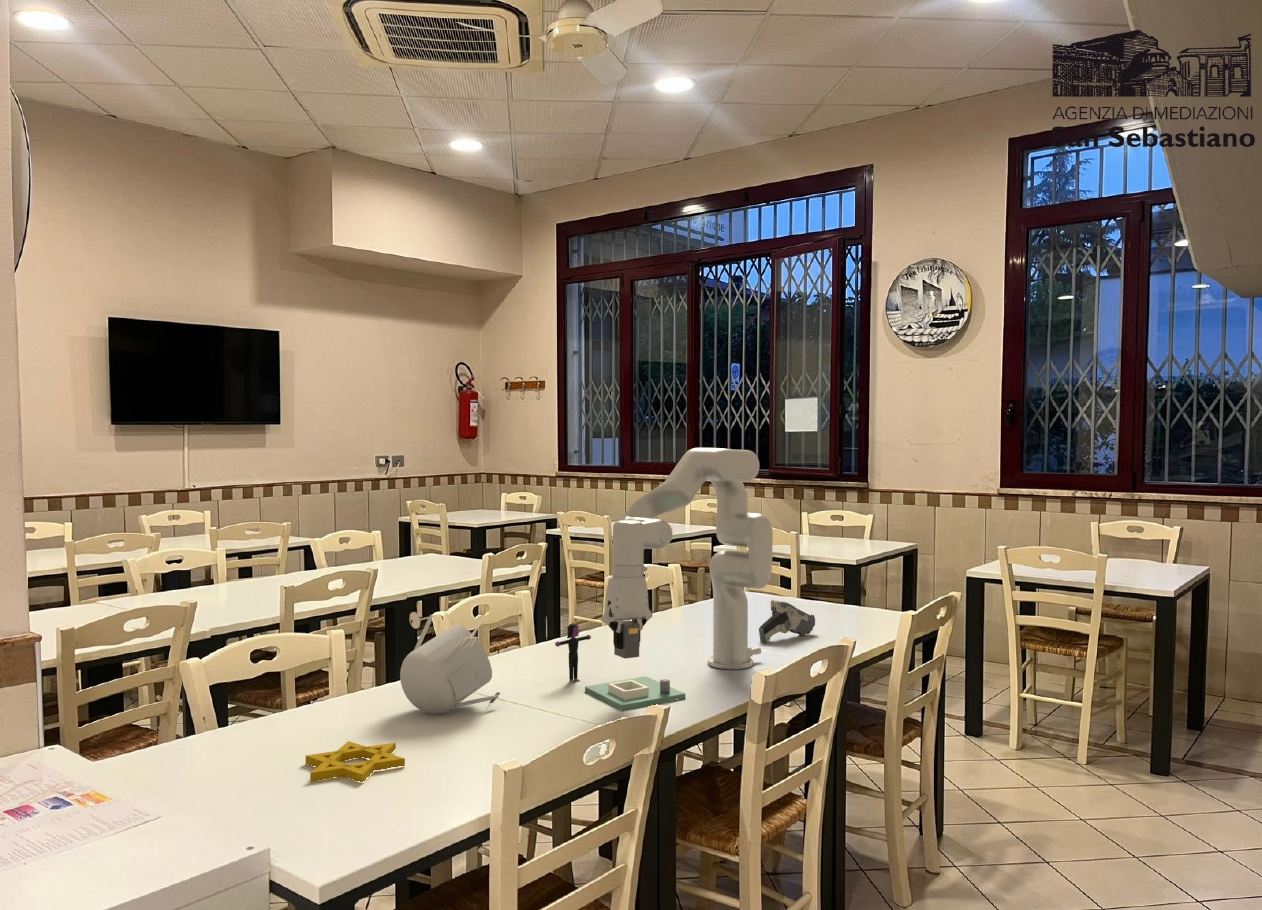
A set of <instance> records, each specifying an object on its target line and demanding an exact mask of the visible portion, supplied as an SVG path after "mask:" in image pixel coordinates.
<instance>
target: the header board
mask: <svg viewBox="0 0 1262 910" xmlns="http://www.w3.org/2000/svg"><path fill="white" fill-rule="evenodd" d="M584 692H585V693H588V694H589V695H591V696H593V697H595V698H597V699H599V700H601V701H603V702H605V703H607V704H609V705H610V706H613V707H614V708H616V709H619V710H620V711H625V710H630V709H636V708H640V707H641V708H642V707H646V706H652V705H651V704H653V705H657V704H663V703H667V702H668V701H669V702H672V701H671V700H674V701H677V700H676V699H679V700H685V699H686V693H685V692H683V691H682V690H679V689H676V688H674V687H672V686H671V680H670V679H666V678H664V679H660V681H657V680H655V679H653V678H651V677H649V676H640V677H633V678H629V679H622V680H615V681H610V682H603V683H597V684H592V685H587V686H584ZM684 698H685V699H684Z"/></svg>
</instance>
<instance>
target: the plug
mask: <svg viewBox="0 0 1262 910" xmlns="http://www.w3.org/2000/svg"><path fill="white" fill-rule="evenodd" d="M621 632H622V633H623V649H618V648H615V647H614V646H613V648H614V650H613V651H614V652H613V653H614V656H618V657H620V658H622V659H632V658H634V659H635V658H639V657H640V647H639V632H640V624H639V623H636V622H633V621H632V620H631V619H627V620H623V624H622V629H621ZM640 633H641V632H640Z"/></svg>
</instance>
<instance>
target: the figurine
mask: <svg viewBox="0 0 1262 910" xmlns="http://www.w3.org/2000/svg"><path fill="white" fill-rule="evenodd" d="M579 629H580V628H579V625H578V624H577V623H575V622H574V623H573V622H571V623H570V624H569V625H568V626H567V636H566V638H567V639H566V640H562V641H555V643H554V645H555V647H560V646H564V645H568V646H567V647H568V670H569V671H568V673H569V682H570V683H574V684H575V683H576V682H581V680H580V679H579V678H578V669H579V653H578V651H579V642H581V641H586V640H591V639H592V636H591V635H590V634H587V635H585V636H581V637H580V636H579V634H580V631H579Z"/></svg>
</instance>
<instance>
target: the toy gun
mask: <svg viewBox="0 0 1262 910" xmlns="http://www.w3.org/2000/svg"><path fill="white" fill-rule="evenodd" d="M770 610H771V616H770V617H769V618H768V619H767V620H766V621H764V622H763V623H762V624H761V625H760V626H759V627H758V635H759V640H760V643H763V644H767V643H769V642H771V641H770V640H771V638H772V637H773V636H774V635H776V634H778V633H782V634H787V633H788V632H790V633H793V634H797V635H799V636H803V637H805V636H806V635H809V634H811V632H813V630H814V628H815V625H816V618H815V615H814V614H808V613H806V612H805V611H802V610H800V609H799V608H797V607H796V606H795V605H792V604H791V603H789V602H786V601H779V600H775V599H771V601H770Z"/></svg>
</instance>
